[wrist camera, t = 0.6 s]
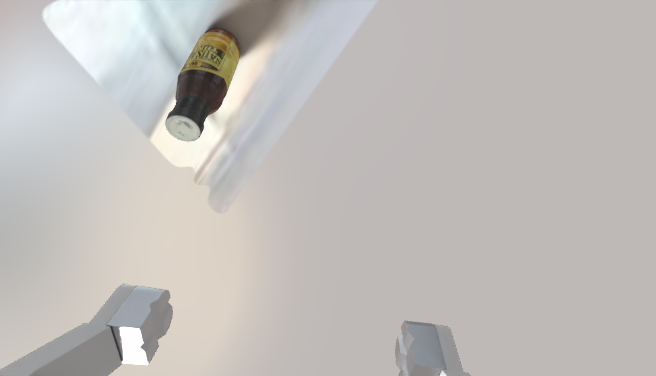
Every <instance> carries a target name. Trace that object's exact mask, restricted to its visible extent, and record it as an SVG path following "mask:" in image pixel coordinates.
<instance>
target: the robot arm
mask: <svg viewBox="0 0 656 376" xmlns="http://www.w3.org/2000/svg"><path fill="white" fill-rule="evenodd" d="M169 299H170V293H169V291H168V290H162V289H156V288H150V287H144V286H137V285H130V284H122V285H120V286H119V287H118V288H117V289H116V290H115V291H114V293H113V294H112V295H111V296H110V298H109V299H108V300H107V301H106V303H105V304H104V305H103V306H102V308H101V309H100V310H99V311H98V313H97V314H96V315H95V316H94V318H93V319H92V320H91V321H90V323H84V324H82V325H80V326H78V327H76V328H74V329H73V330H71V331H69V332H67V333H65V334H64V335H62V336H60V337H58V338H56V339H54V340H53V341H51V342H49V343H47V344H46V345H44V346H42V347H40V348H38V349H37V350H35V351H33V352H31V353H29V354H27V355H26V356H24V357H22V358H21V359H18V360H17V361H15V362H13V363H11V364H9V365H8V366H6V367H4V368H2V369H1V370H0V376H108V375H109V374H110V373H111V372H113V371H114V370H115V369H117V368H118V367H119V366H120V365H121V364H122V363H133V364H142V365H149V363H150V361H151V360H152V358H153V356H154V354H155V352H156V350H157V349H158V347H159V345H158V341H157V340H158V339H159V338H161V337H162V336H164V335H165V334H166V332H167V330H168V328H169V326H170V323H171V320H172V314H173V310H172V306H171V305H170V304H169V303H168V301H169ZM401 329H402V334H400V335H399V336H398V338H397V342H396V349H395V355H396V364H397V366H398V367H399V368H400V370H401V371H400V373H399V376H470V374H469V373H465V372H463V368H462V365H461V362H460V358H459V355H458V352H457V349H456V345H455V342H454V339H453V336H452V332H451V329H450V328H449V327H448V326H442V325H435V324H429V323H420V322H412V321H404V322H403V324H402V327H401Z"/></svg>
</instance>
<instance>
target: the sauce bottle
mask: <svg viewBox="0 0 656 376" xmlns="http://www.w3.org/2000/svg"><path fill="white" fill-rule="evenodd" d="M239 57H240V47H239V44H238V42H237V40H236V39H235V38H234V37H233V36H232V35H231V34H230V33H228V32H226V31H224V30H220V29H212V30H209V31H208V32H206V33H205V34H203V35H202V36H201V37H200V39H199V40H198V42H197V44H196V46H195V47H194V49H193V51H192V53H191V54H190V56H189V58H188V60H187V61H186V63H185V65H184V67H183V69H182V70H181V72H180V74H179V76H178V82H177V90H176V101H177V102H176V105H175V107H174V109H173V110H172V111H171V112H170V113H169V114H168V117H167V119H166V128H167V130H168V132H169V133H170V134H171V135H172V136H174V137H175V138H177V139H179V140H182V141H195V140H197V139H198V138H199V137H200V135H201V133H202V131H203V129H204V121H205V119H206V117H207V116H208V115H210V114H212V113H214V112H216V111H217V110H218V109H219V107H220V106H221V104H222V102H223V99H224V97H225V96H226V94H227V91H228V88H229V86H230V83H231V80H232V78H233V75H234V72H235V70H236V67H237V64H238V61H239Z"/></svg>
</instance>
